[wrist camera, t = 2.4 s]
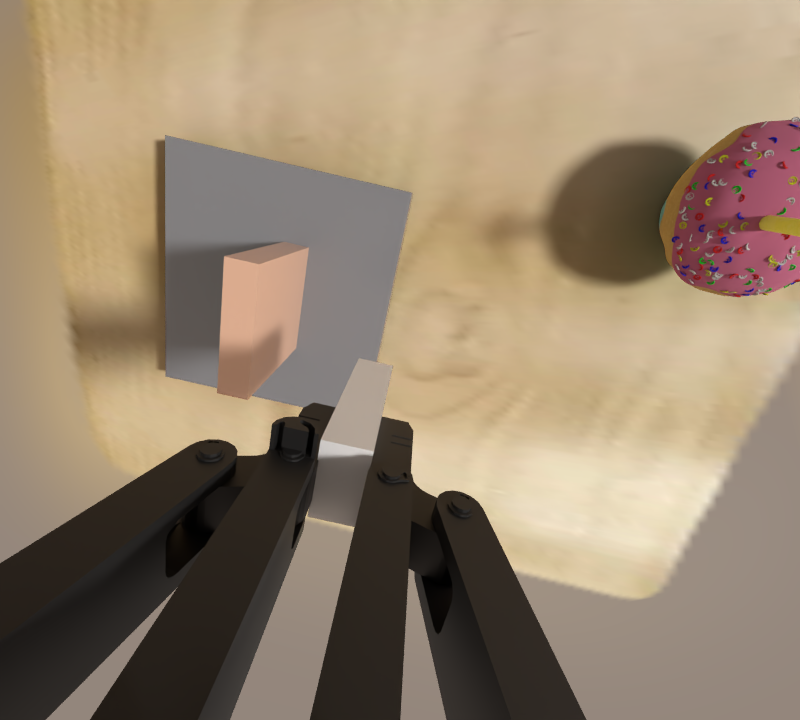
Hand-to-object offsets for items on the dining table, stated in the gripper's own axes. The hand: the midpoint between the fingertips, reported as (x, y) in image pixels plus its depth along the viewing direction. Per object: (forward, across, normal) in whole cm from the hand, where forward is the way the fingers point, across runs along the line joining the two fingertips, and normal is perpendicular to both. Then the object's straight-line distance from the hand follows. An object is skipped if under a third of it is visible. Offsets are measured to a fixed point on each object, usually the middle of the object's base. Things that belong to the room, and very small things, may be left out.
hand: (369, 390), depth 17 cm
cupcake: (+12, +17, +11) cm, 24 cm away
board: (+12, -8, 0) cm, 14 cm away
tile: (+10, -7, 0) cm, 12 cm away
